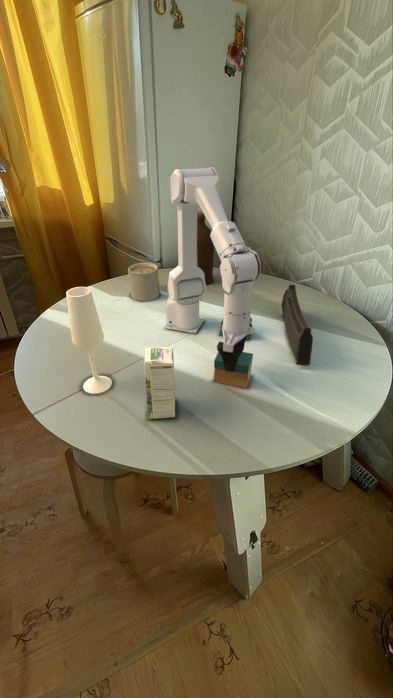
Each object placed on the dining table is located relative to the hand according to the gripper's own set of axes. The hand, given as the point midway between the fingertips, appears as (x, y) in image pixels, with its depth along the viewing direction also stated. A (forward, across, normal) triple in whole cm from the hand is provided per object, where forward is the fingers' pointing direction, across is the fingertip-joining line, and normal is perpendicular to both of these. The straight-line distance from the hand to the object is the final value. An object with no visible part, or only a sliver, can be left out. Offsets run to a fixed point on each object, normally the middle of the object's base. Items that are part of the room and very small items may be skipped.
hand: (233, 361), depth 82 cm
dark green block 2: (+5, +21, +4) cm, 22 cm away
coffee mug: (+5, +38, +41) cm, 56 cm away
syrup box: (+6, -15, +12) cm, 20 cm away
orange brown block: (+3, 0, 0) cm, 3 cm away
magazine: (+6, +24, -12) cm, 27 cm away
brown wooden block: (+5, 0, 0) cm, 5 cm away
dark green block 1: (+3, +21, +4) cm, 22 cm away
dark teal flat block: (+1, 0, 0) cm, 1 cm away
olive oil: (+5, +55, +26) cm, 61 cm away
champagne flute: (+6, -12, +30) cm, 33 cm away
